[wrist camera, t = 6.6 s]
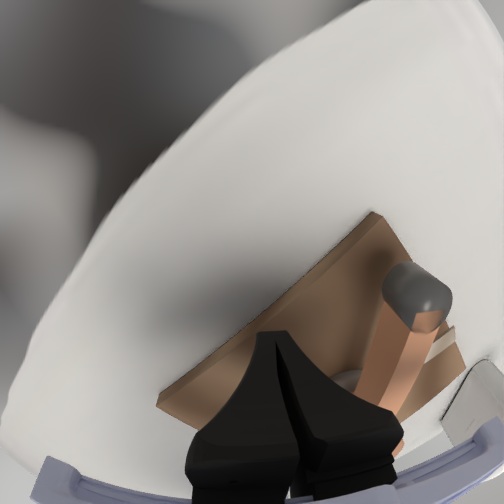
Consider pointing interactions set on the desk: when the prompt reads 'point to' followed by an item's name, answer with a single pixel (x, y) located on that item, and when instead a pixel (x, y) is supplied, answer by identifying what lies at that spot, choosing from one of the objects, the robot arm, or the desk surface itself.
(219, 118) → the desk surface
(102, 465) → the desk surface
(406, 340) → the wooden tool handle
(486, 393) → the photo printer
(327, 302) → the walnut base
